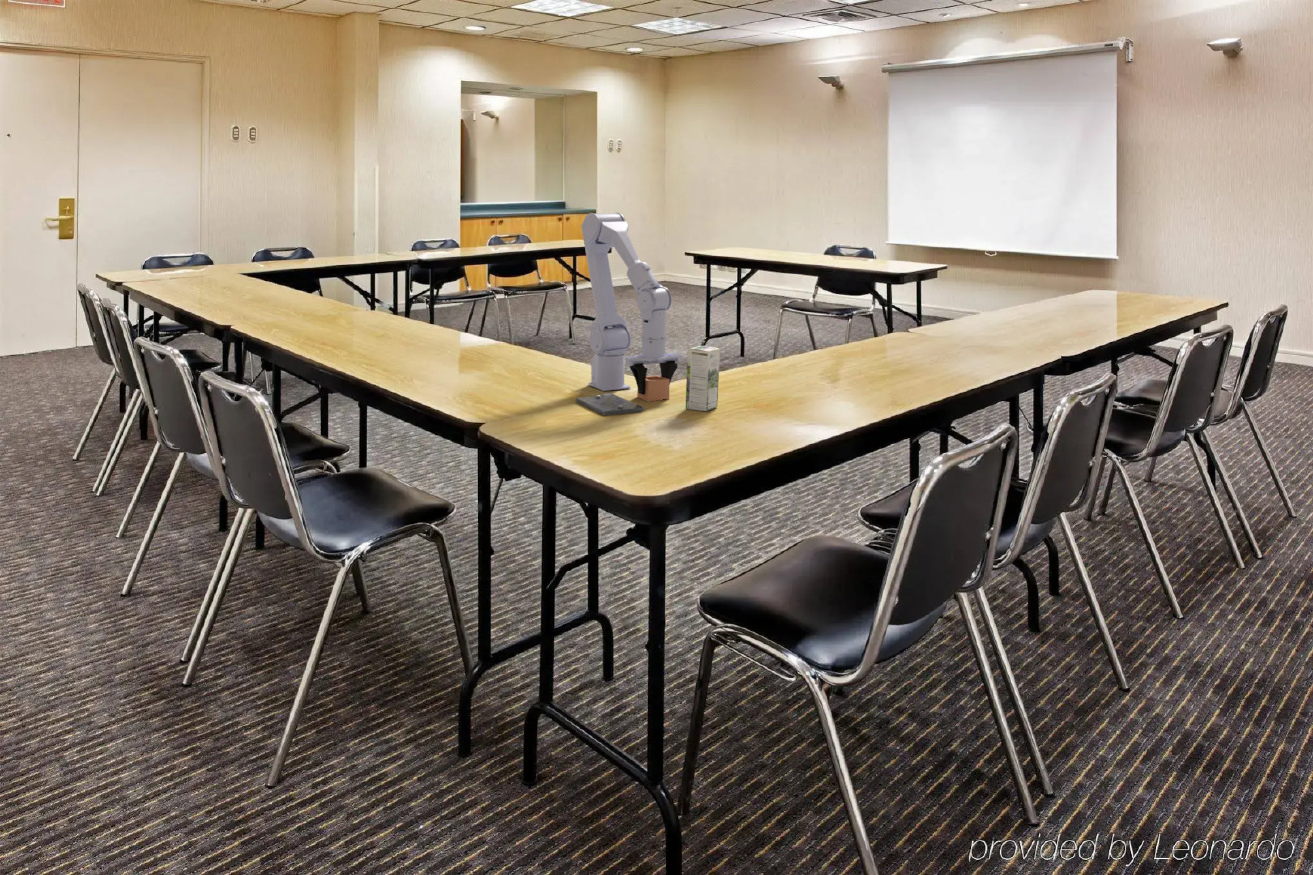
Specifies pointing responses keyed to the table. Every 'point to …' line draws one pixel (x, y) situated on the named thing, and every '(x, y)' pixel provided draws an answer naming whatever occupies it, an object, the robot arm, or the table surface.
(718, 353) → the syrup box
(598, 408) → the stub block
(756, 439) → the table surface
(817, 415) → the table surface
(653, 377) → the collar
